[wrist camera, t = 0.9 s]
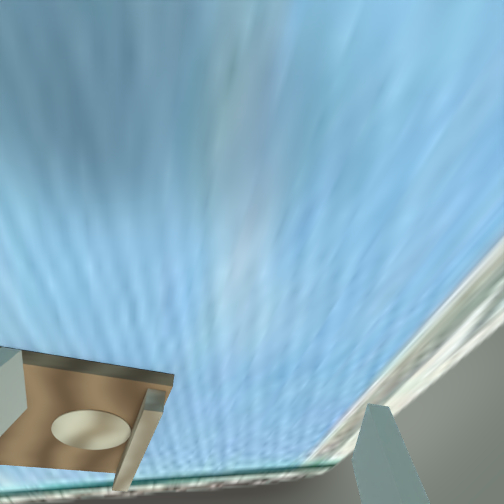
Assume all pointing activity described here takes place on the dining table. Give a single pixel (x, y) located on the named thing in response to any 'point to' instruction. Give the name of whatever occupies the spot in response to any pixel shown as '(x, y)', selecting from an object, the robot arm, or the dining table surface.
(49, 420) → the walnut board
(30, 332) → the dining table surface
